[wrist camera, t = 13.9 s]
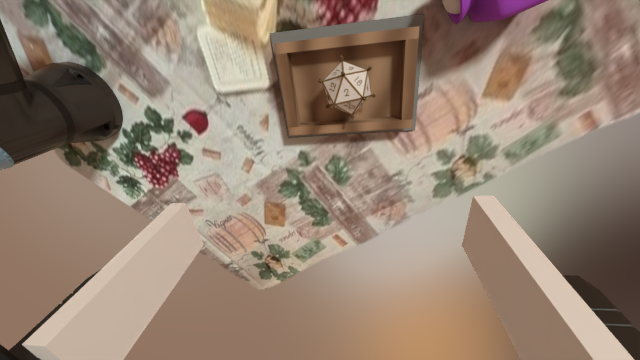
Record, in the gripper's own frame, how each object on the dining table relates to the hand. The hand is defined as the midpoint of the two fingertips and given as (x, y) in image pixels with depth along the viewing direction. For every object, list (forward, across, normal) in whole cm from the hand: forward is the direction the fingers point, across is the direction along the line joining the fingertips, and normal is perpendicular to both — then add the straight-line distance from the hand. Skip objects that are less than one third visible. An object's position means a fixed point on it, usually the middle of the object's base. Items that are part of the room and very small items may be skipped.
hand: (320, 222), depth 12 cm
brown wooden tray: (+38, 0, 0) cm, 38 cm away
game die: (+37, +1, 0) cm, 37 cm away
